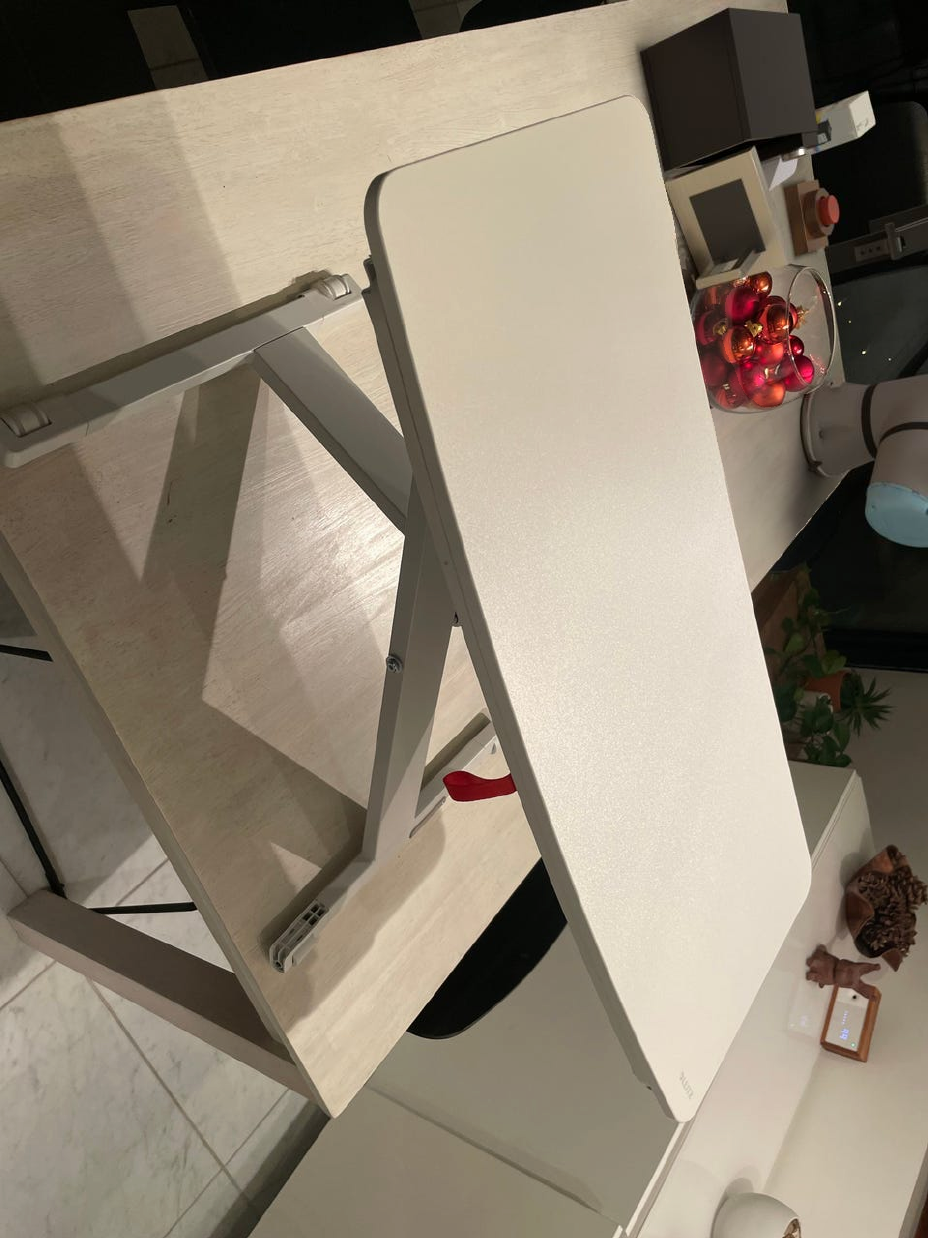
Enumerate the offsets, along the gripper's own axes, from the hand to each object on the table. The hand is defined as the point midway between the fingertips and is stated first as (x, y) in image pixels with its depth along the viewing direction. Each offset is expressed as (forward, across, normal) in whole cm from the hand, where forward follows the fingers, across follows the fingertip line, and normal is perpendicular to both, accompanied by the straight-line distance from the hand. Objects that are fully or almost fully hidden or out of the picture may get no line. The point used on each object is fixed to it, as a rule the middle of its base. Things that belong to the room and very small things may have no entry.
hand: (850, 246), depth 104 cm
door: (+23, -5, -5) cm, 24 cm away
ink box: (+23, -44, -13) cm, 51 cm away
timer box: (+23, -43, -1) cm, 49 cm away
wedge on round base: (+23, -33, -12) cm, 42 cm away
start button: (+20, -43, -1) cm, 48 cm away
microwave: (+23, -17, -19) cm, 34 cm away
